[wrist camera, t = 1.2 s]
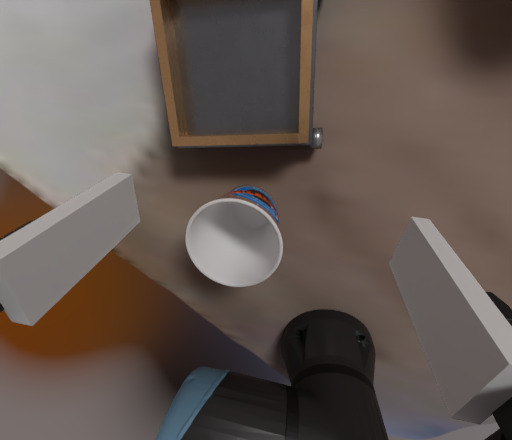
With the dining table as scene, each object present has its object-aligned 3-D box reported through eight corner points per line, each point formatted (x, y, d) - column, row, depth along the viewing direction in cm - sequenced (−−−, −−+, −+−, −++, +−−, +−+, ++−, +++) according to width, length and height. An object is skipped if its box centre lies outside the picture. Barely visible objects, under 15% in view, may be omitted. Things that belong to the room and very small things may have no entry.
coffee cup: (301, 198, 36) (303, 236, 25) (262, 251, 40) (249, 303, 29) (238, 157, 35) (212, 178, 24) (205, 215, 39) (169, 255, 28)
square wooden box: (319, 146, 33) (324, 154, 27) (191, 149, 36) (170, 157, 30) (328, -29, 27) (337, -69, 21) (170, -11, 29) (137, -41, 23)
